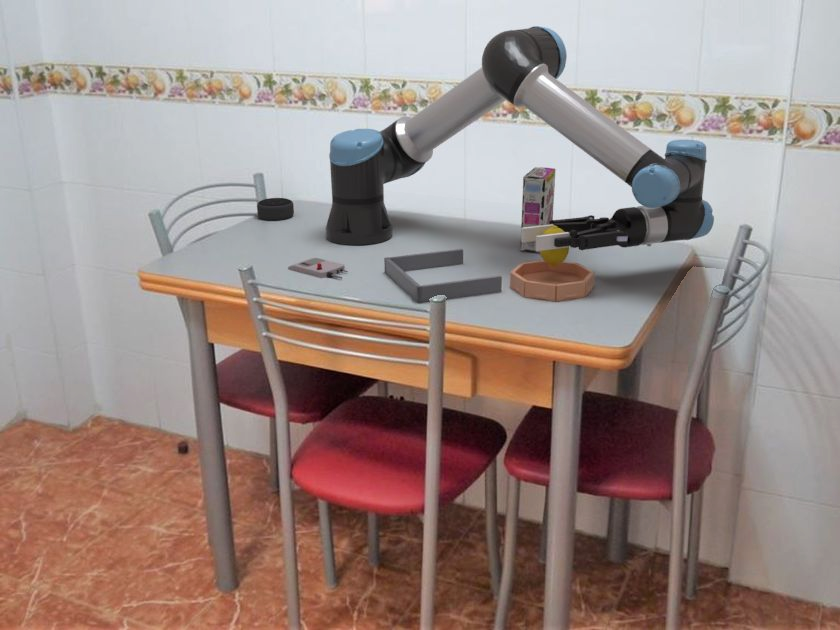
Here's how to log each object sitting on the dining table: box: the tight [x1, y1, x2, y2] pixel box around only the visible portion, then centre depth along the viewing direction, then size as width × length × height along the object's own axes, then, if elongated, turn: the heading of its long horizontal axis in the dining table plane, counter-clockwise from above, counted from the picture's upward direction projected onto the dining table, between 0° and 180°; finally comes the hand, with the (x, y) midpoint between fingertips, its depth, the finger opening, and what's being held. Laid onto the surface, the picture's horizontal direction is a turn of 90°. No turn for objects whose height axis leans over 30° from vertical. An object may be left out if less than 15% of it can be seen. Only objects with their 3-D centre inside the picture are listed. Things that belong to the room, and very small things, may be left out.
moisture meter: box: [287, 257, 349, 280], centre depth 189 cm, size 7×16×3 cm, turn 51°
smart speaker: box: [256, 197, 295, 221], centre depth 229 cm, size 9×9×4 cm
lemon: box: [539, 226, 570, 267], centre depth 175 cm, size 6×6×8 cm
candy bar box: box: [519, 166, 557, 254], centre depth 201 cm, size 11×5×16 cm, turn 161°
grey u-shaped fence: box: [383, 248, 503, 304], centre depth 181 cm, size 20×17×3 cm
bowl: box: [509, 259, 595, 302], centre depth 177 cm, size 15×15×3 cm
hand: (529, 239), depth 172 cm, fingers closed on lemon, 5 cm apart
